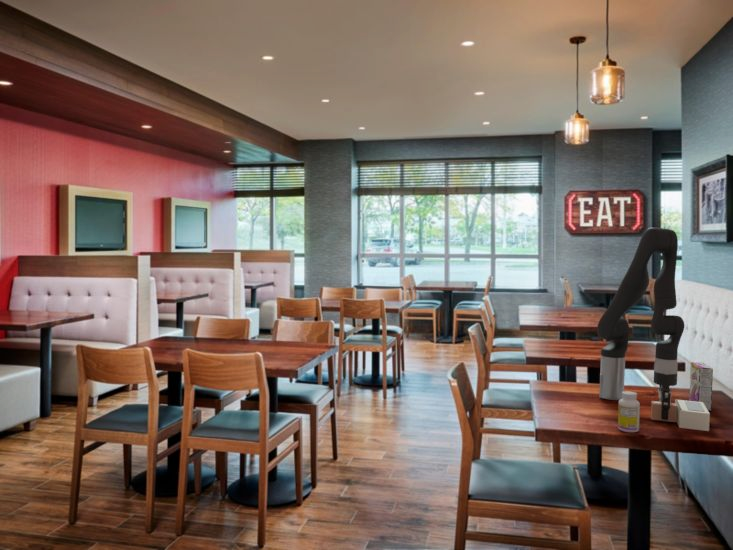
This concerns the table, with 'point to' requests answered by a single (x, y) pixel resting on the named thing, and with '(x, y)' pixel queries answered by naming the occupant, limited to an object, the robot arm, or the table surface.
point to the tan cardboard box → (657, 411)
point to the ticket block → (692, 415)
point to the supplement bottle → (628, 412)
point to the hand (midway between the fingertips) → (663, 416)
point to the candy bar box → (701, 383)
